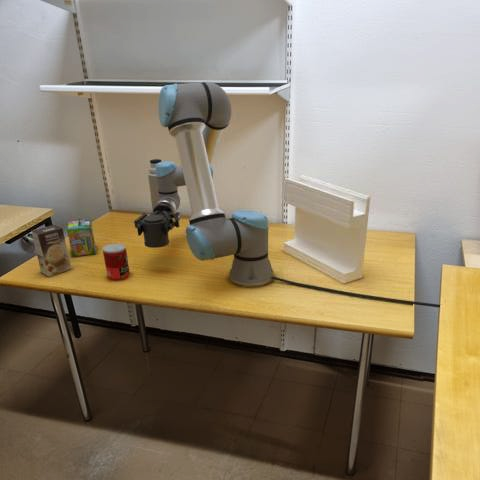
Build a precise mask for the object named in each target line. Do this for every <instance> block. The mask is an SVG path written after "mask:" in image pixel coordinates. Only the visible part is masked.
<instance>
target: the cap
mask: <svg viewBox="0 0 480 480" xmlns="http://www.w3.org/2000/svg"><path fill="white" fill-rule="evenodd" d="M148 215H149V216H146V217H144V219H143V220H142V227H143V232H142V234H143V241H144V242H143V243H144V247H146V248H149V249H150V248H151V249H157V248H158V249H159V248H163V247H166V246H168V245H169V244H170V239H169V233H168V234H167V235H165V233H164V226H165V225H166V223H167V220H166V218H165V217H164V216H162V215H150V214H148Z"/></svg>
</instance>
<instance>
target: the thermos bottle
mask: <svg viewBox="0 0 480 480" xmlns="http://www.w3.org/2000/svg"><path fill="white" fill-rule="evenodd" d="M159 162H162V159H160V158H159V159H158V158H155V159H150V160H149V164H150V167H149V168H148V173H147V177H148V186H149V193H150V194H149V195H150V200H151V201H150V202H151V211H153V210H154V208H155V206H156V205H157V203H158V202H159V194H158V185H157V178H156V165H157V164H158V163H159Z"/></svg>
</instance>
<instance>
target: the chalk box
mask: <svg viewBox="0 0 480 480" xmlns="http://www.w3.org/2000/svg"><path fill="white" fill-rule="evenodd" d="M66 232H67V233H66V234H67V237H68V242H69V246H70V251H71V252H70V253H71V256H72V257H73V258H74V257H80V256H91V255H96V251H97V249H96V248H97V247H96V241H95V235H94V229H93V224H92V219H83V220H81V214H79V217H78V220H71V221H67V223H66Z"/></svg>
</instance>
